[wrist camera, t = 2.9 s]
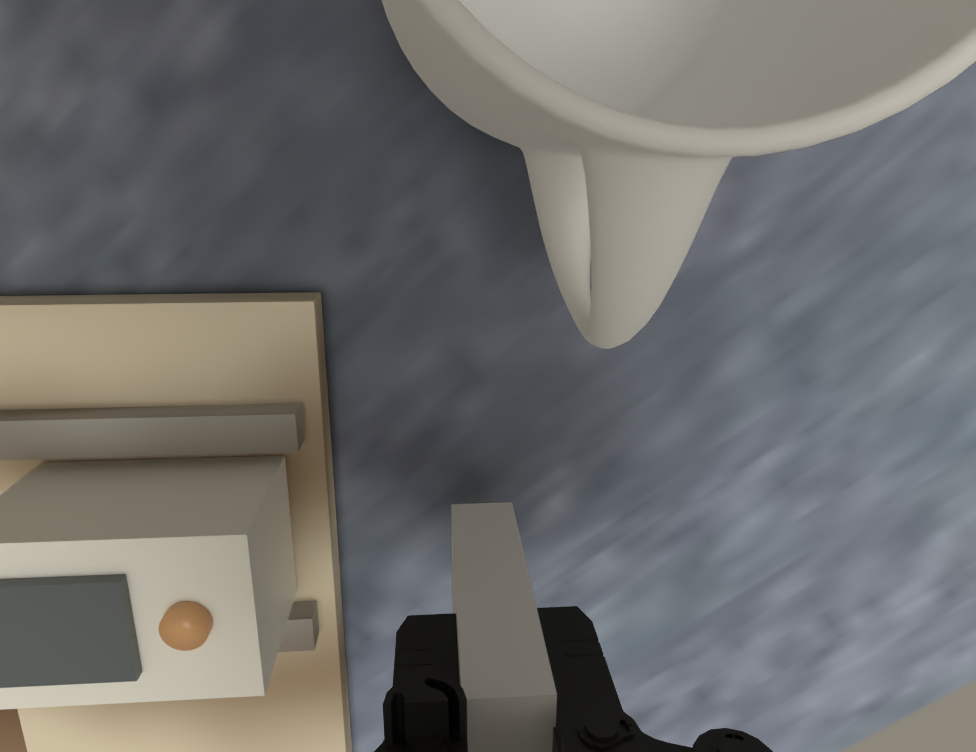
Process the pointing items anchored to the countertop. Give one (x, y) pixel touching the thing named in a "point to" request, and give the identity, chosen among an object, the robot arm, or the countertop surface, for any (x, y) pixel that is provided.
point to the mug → (665, 110)
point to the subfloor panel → (188, 434)
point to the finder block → (143, 580)
